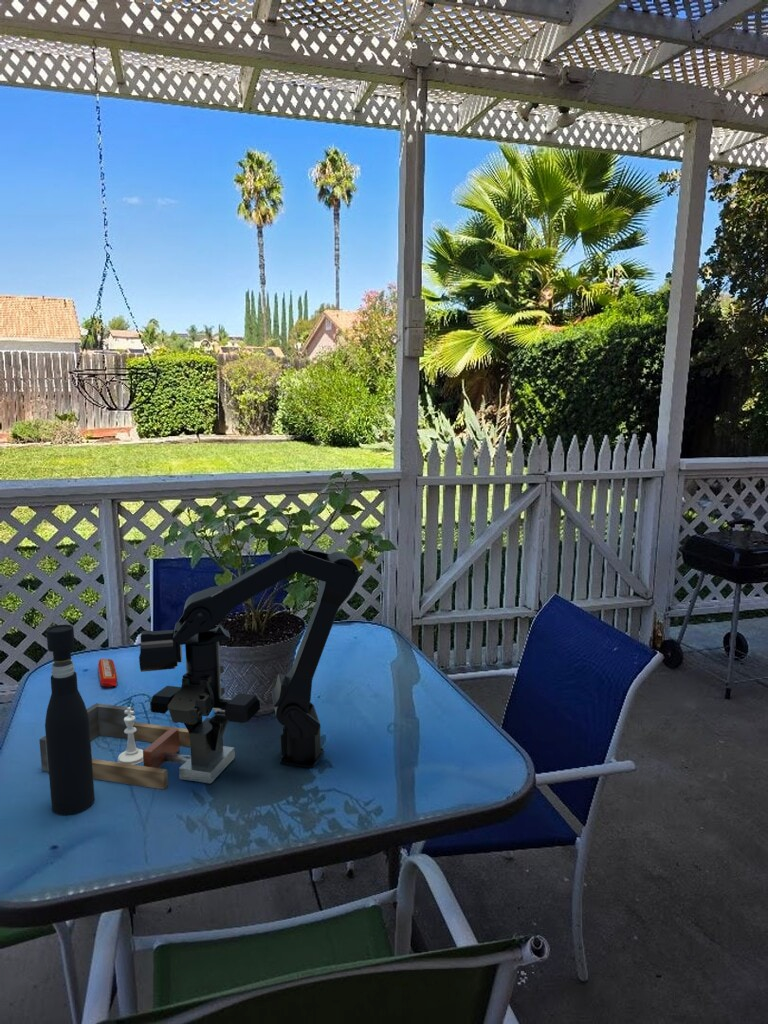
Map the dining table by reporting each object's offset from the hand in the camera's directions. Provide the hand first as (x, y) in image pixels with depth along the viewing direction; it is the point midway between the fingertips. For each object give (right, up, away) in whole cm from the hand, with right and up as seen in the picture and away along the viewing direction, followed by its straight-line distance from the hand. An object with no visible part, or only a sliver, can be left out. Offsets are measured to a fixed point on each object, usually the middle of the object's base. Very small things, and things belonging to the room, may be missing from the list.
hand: (207, 748), depth 121 cm
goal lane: (-17, -3, +5) cm, 18 cm away
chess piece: (-15, -4, +4) cm, 16 cm away
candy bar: (-35, +2, +43) cm, 55 cm away
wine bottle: (-19, -6, -10) cm, 22 cm away
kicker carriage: (-3, -4, +1) cm, 5 cm away
